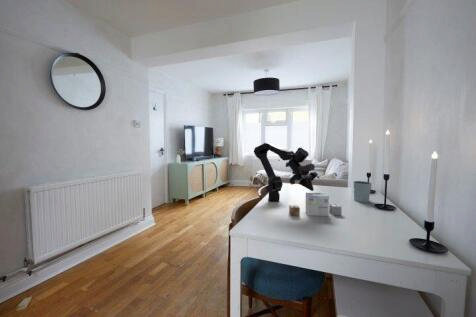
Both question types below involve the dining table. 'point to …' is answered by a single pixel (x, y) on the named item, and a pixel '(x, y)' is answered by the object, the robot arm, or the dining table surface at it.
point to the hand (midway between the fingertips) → (312, 190)
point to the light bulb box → (317, 204)
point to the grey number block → (335, 209)
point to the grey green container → (362, 191)
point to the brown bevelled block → (294, 210)
